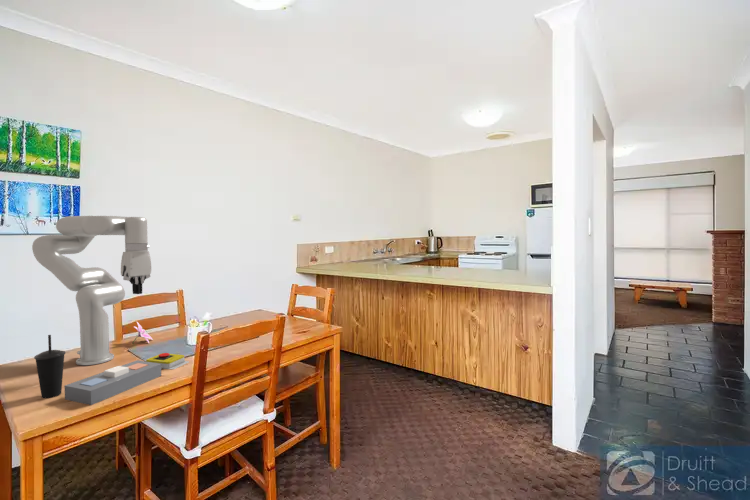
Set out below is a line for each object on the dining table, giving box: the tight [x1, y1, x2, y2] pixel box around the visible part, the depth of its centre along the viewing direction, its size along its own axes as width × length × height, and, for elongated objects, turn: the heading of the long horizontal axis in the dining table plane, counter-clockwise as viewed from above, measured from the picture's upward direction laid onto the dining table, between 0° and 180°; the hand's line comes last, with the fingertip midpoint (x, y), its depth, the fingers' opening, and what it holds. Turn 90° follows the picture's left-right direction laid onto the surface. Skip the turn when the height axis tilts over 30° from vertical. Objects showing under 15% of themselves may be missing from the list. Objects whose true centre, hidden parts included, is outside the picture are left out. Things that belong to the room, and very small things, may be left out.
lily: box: [132, 321, 154, 344], centre depth 178 cm, size 12×12×10 cm
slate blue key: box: [81, 378, 107, 387], centre depth 120 cm, size 5×5×3 cm
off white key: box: [103, 365, 129, 378], centre depth 127 cm, size 5×5×3 cm
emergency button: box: [145, 352, 190, 370], centre depth 150 cm, size 9×4×15 cm
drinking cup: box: [33, 334, 66, 399], centre depth 120 cm, size 8×8×20 cm
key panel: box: [63, 359, 162, 406], centre depth 127 cm, size 12×25×4 cm, turn 162°
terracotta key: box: [128, 363, 148, 370], centre depth 134 cm, size 5×5×3 cm
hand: (137, 293), depth 147 cm, fingers closed
